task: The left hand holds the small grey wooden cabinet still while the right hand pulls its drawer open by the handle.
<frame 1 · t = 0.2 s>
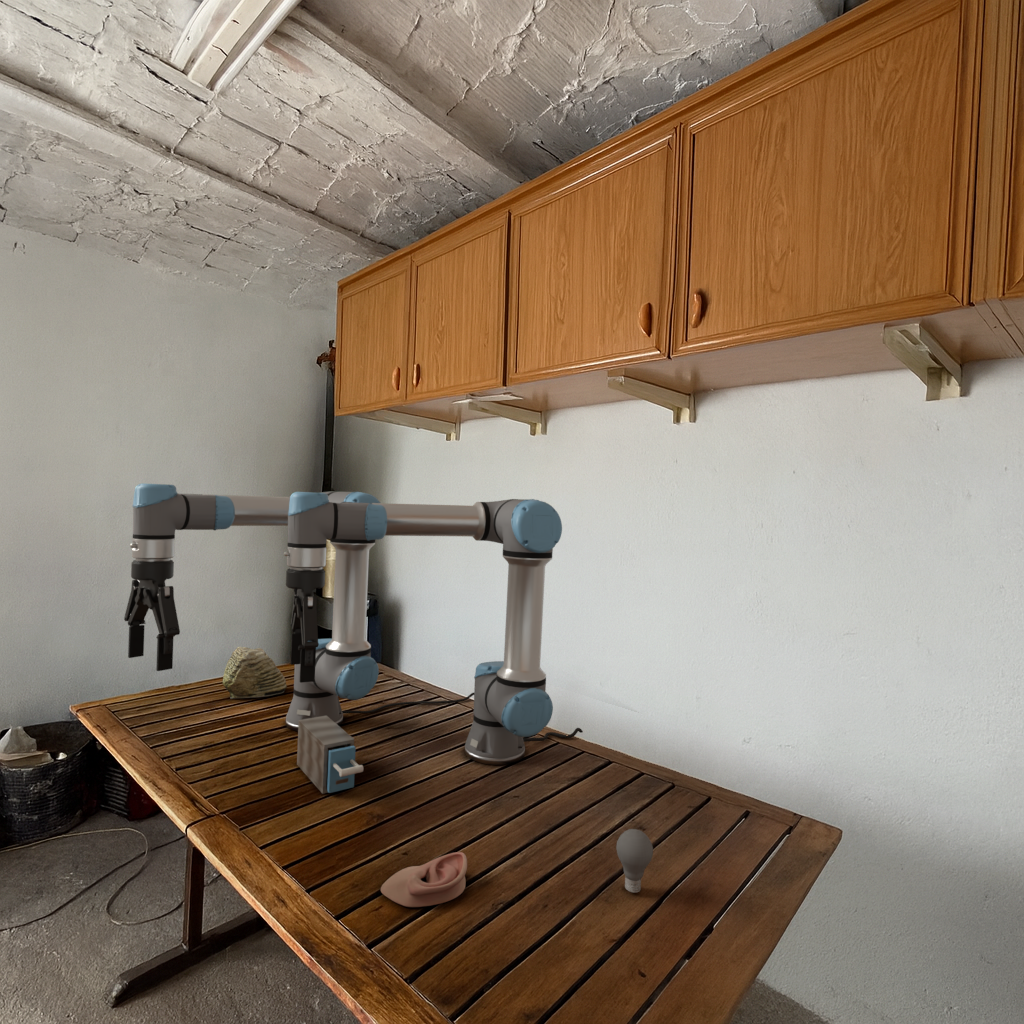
left hand: (149, 663, 129), 28 cm above the table, tool pointing down, fingers open, 13 cm apart
right hand: (302, 672, 129), 28 cm above the table, tool pointing down, fingers open, 13 cm apart
anatomical model: (424, 887, 104), on the table
light bulb: (632, 891, 106), on the table
cabinet: (323, 775, 144), on the table
drawer: (333, 760, 140), point 5 cm above the table, slide at 1.0 cm
fossil: (254, 694, 198), on the table
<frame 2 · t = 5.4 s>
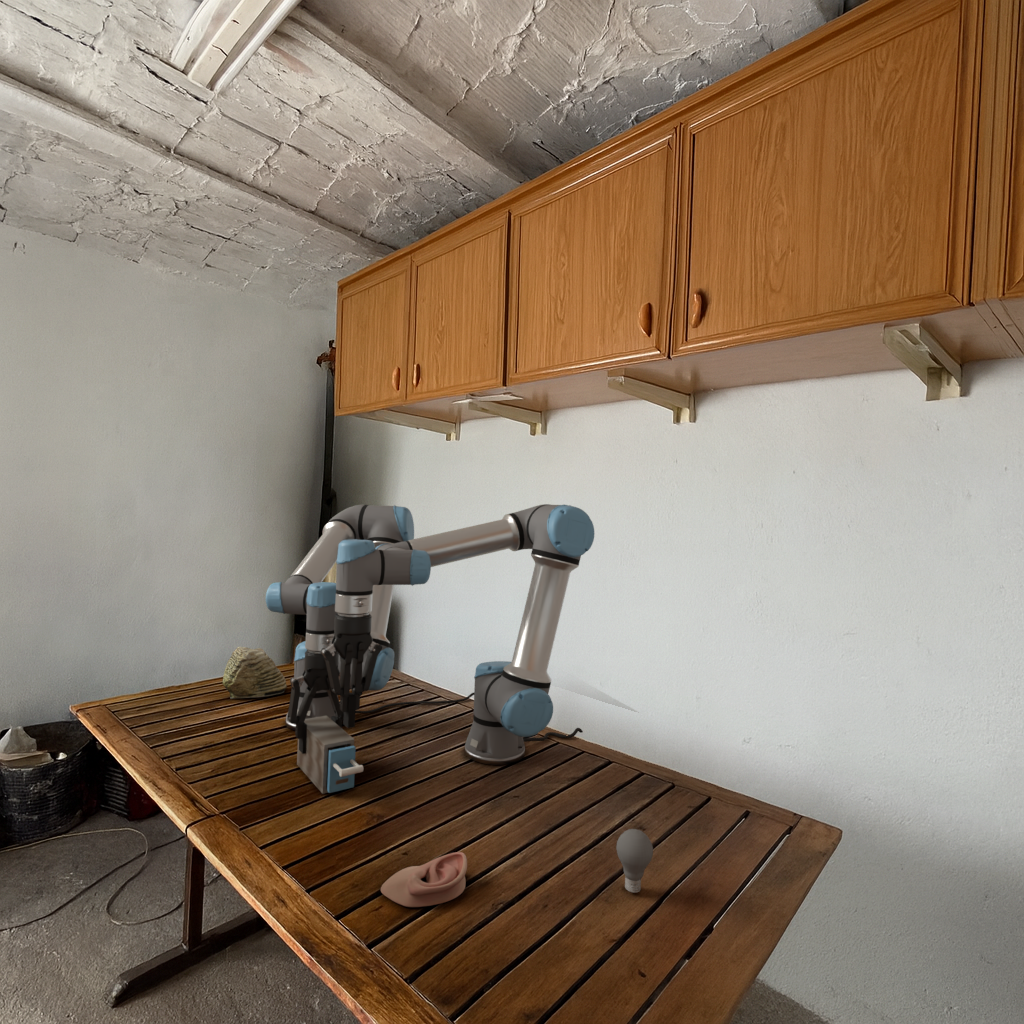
left hand: (318, 748, 147), 5 cm above the table, tool pointing down, fingers closed on cabinet, 7 cm apart
right hand: (349, 725, 133), 16 cm above the table, tool pointing down, fingers closed
cabinet: (323, 775, 144), on the table, touching left hand
everything else where it was.
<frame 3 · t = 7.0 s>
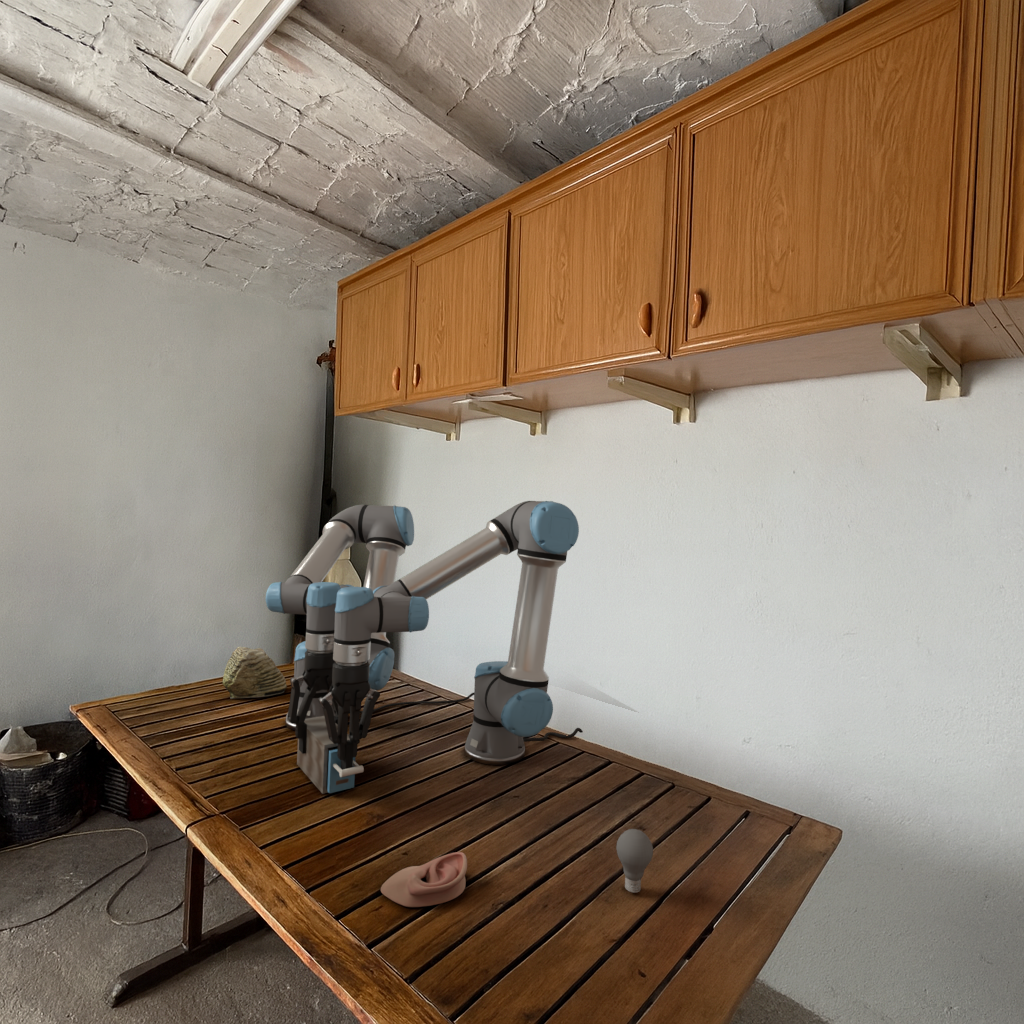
left hand: (318, 747, 147), 5 cm above the table, tool pointing down, fingers closed on cabinet, 7 cm apart
right hand: (346, 773, 133), 6 cm above the table, tool pointing down, fingers closed
cabinet: (323, 775, 144), on the table, touching left hand
drawer: (333, 761, 139), point 5 cm above the table, slide at 1.1 cm, touching right hand
everything else where it was.
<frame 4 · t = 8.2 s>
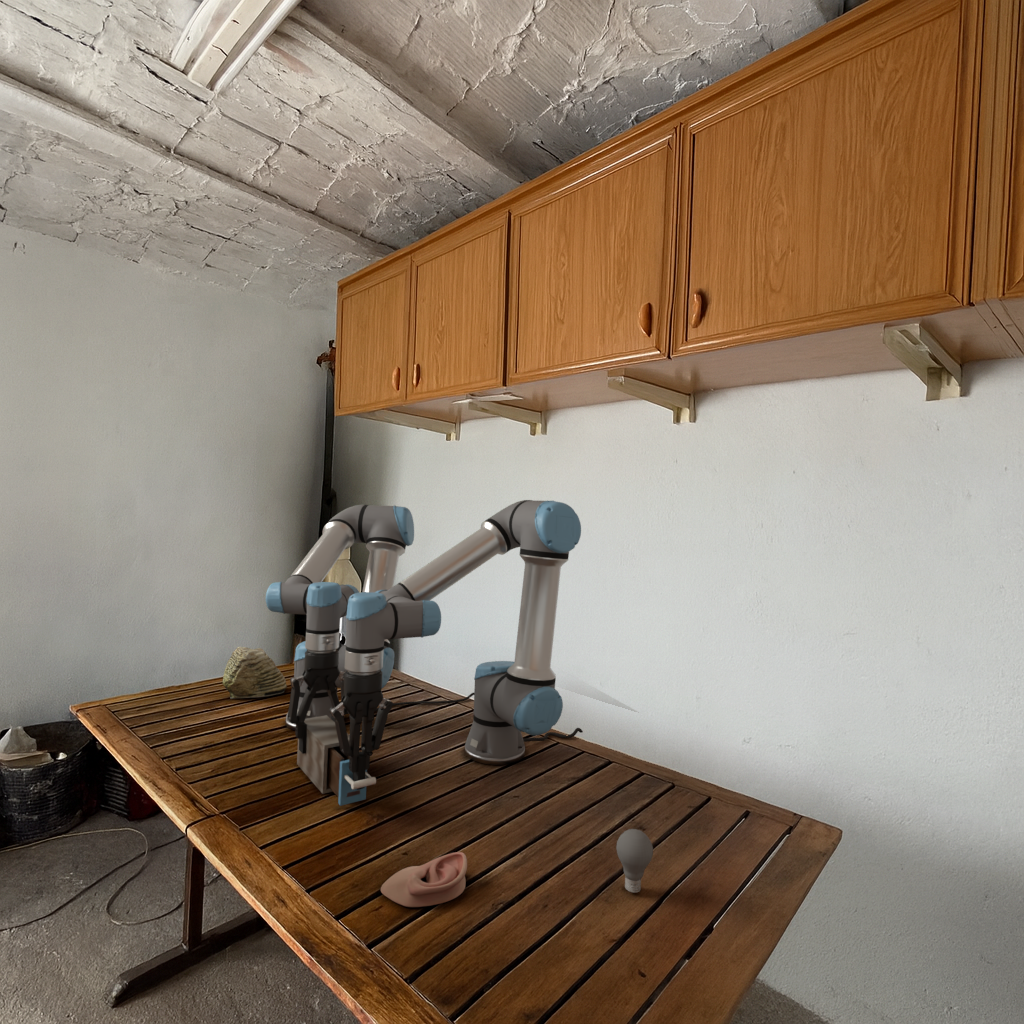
left hand: (318, 747, 147), 5 cm above the table, tool pointing down, fingers closed on cabinet, 7 cm apart
right hand: (358, 786, 128), 5 cm above the table, tool pointing down, fingers closed
cabinet: (323, 775, 144), on the table, touching left hand
drawer: (344, 771, 134), point 5 cm above the table, slide at 7.3 cm, touching right hand
everything else where it was.
when the left hand's fingers open (5 cm above the table, at t = 9.6 s): cabinet stays where it is, on the table.
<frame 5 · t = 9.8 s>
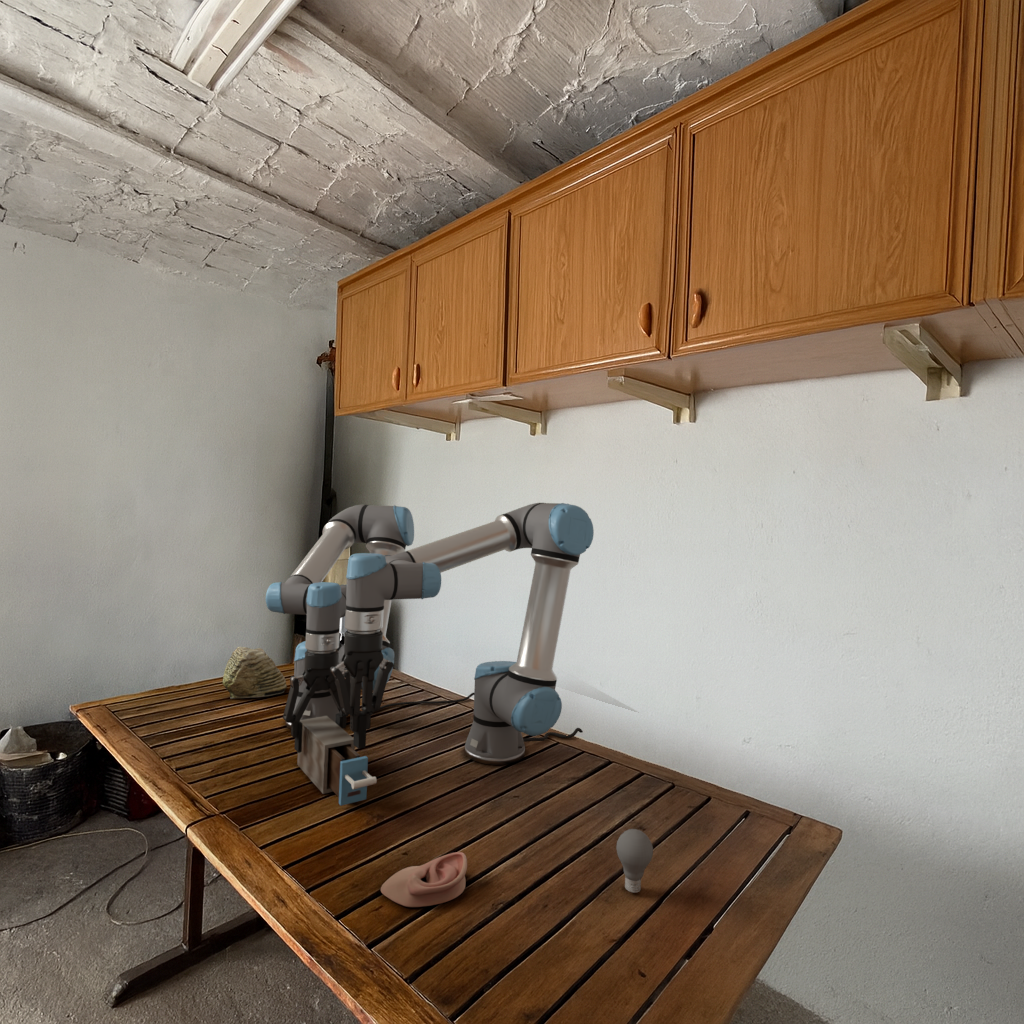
left hand: (318, 746, 147), 5 cm above the table, tool pointing down, fingers open, 9 cm apart
right hand: (359, 745, 128), 13 cm above the table, tool pointing down, fingers closed
cabinet: (324, 775, 144), on the table
drawer: (344, 771, 134), point 5 cm above the table, slide at 7.3 cm
everything else where it was.
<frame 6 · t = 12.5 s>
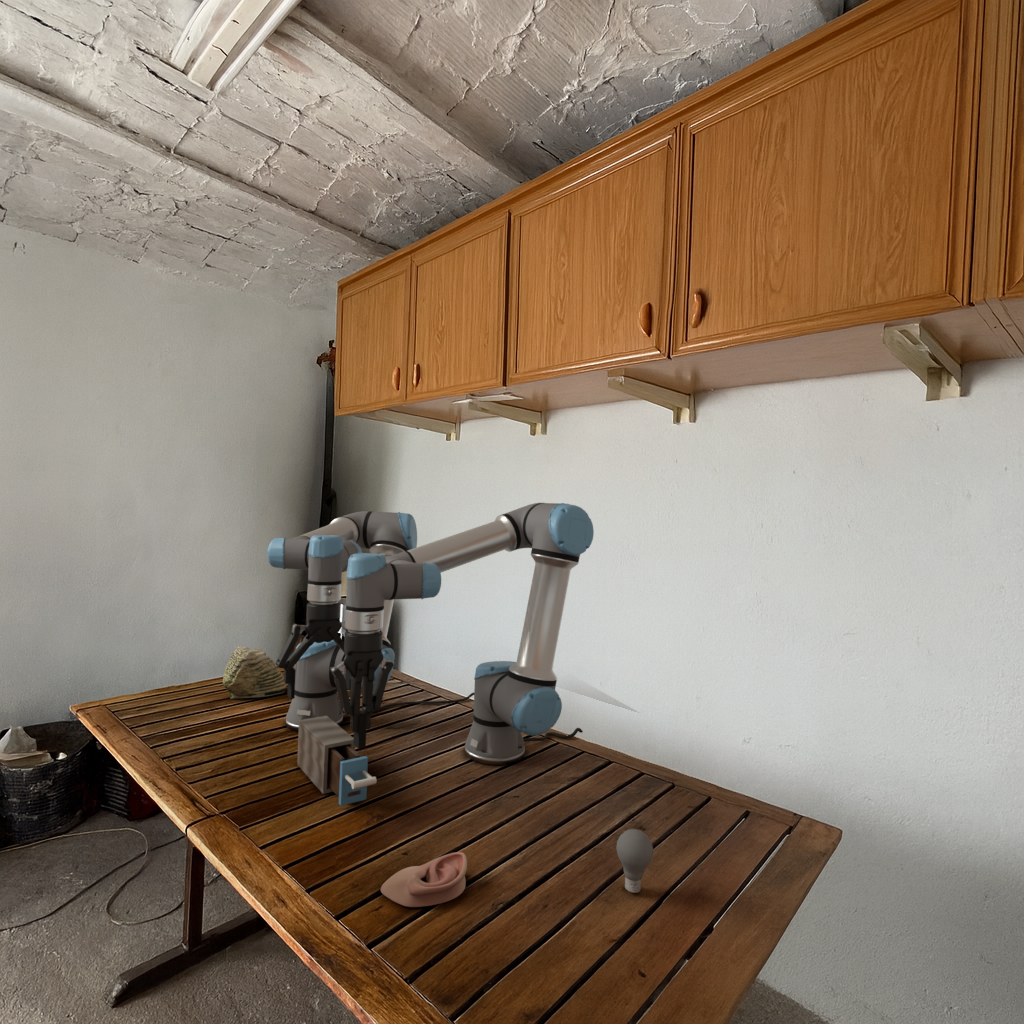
left hand: (320, 693, 147), 18 cm above the table, tool pointing down, fingers open, 13 cm apart
right hand: (359, 745, 128), 13 cm above the table, tool pointing down, fingers closed
nothing on the table moved.
at the end: drawer slide at 7.3 cm; cabinet tilted 0°; cabinet never tilted more than 1° during the clip; cabinet moved 0.1 cm from its start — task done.
